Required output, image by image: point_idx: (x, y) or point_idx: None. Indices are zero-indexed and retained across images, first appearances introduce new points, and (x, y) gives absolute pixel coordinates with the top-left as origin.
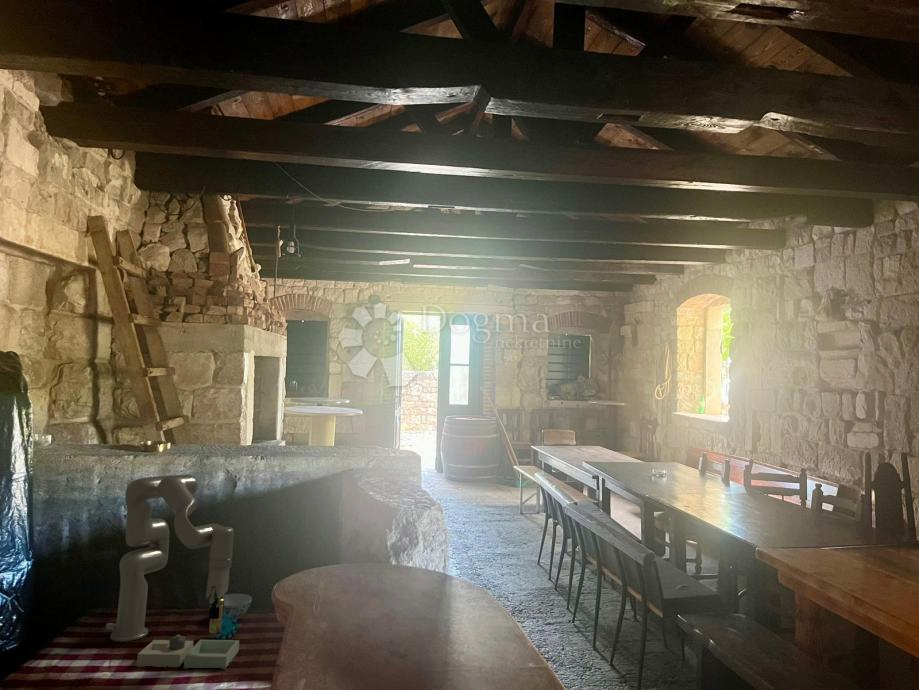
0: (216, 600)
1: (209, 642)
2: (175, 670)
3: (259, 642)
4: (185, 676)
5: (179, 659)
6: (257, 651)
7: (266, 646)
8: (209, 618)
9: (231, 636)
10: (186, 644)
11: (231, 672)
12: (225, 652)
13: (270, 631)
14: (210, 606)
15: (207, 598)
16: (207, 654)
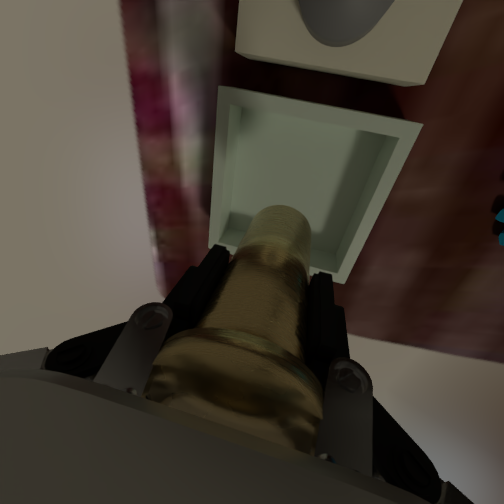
0: (172, 398)
1: (380, 175)
2: (219, 53)
3: (400, 314)
4: (172, 113)
5: (241, 54)
6: None
7: (358, 325)
8: (215, 245)
9: (501, 244)
10: (375, 50)
11: (201, 244)
12: (334, 227)
13: (490, 348)
14: (138, 313)
15: (14, 375)
16: (334, 166)
